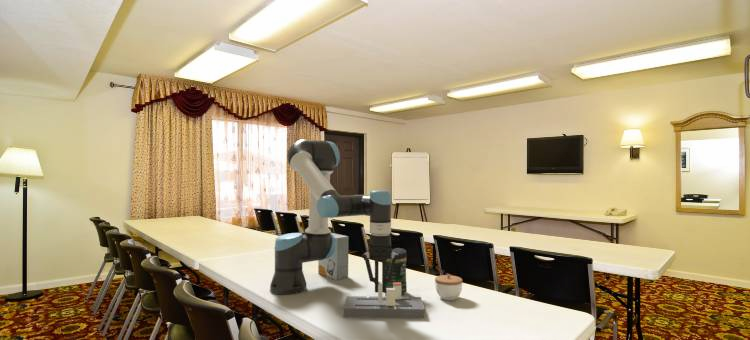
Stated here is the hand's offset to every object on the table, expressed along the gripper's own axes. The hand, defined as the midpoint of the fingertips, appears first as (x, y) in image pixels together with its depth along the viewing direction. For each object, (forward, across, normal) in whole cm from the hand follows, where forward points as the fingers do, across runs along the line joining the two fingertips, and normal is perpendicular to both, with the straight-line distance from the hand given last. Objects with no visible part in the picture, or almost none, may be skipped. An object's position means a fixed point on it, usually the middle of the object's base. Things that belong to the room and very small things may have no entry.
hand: (380, 301), depth 128 cm
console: (+5, +1, +4) cm, 6 cm away
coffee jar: (+5, +6, +24) cm, 25 cm away
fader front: (+1, +4, 0) cm, 4 cm away
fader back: (+1, +6, +7) cm, 10 cm away
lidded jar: (+5, +27, +19) cm, 33 cm away
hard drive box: (+5, -24, +51) cm, 56 cm away
